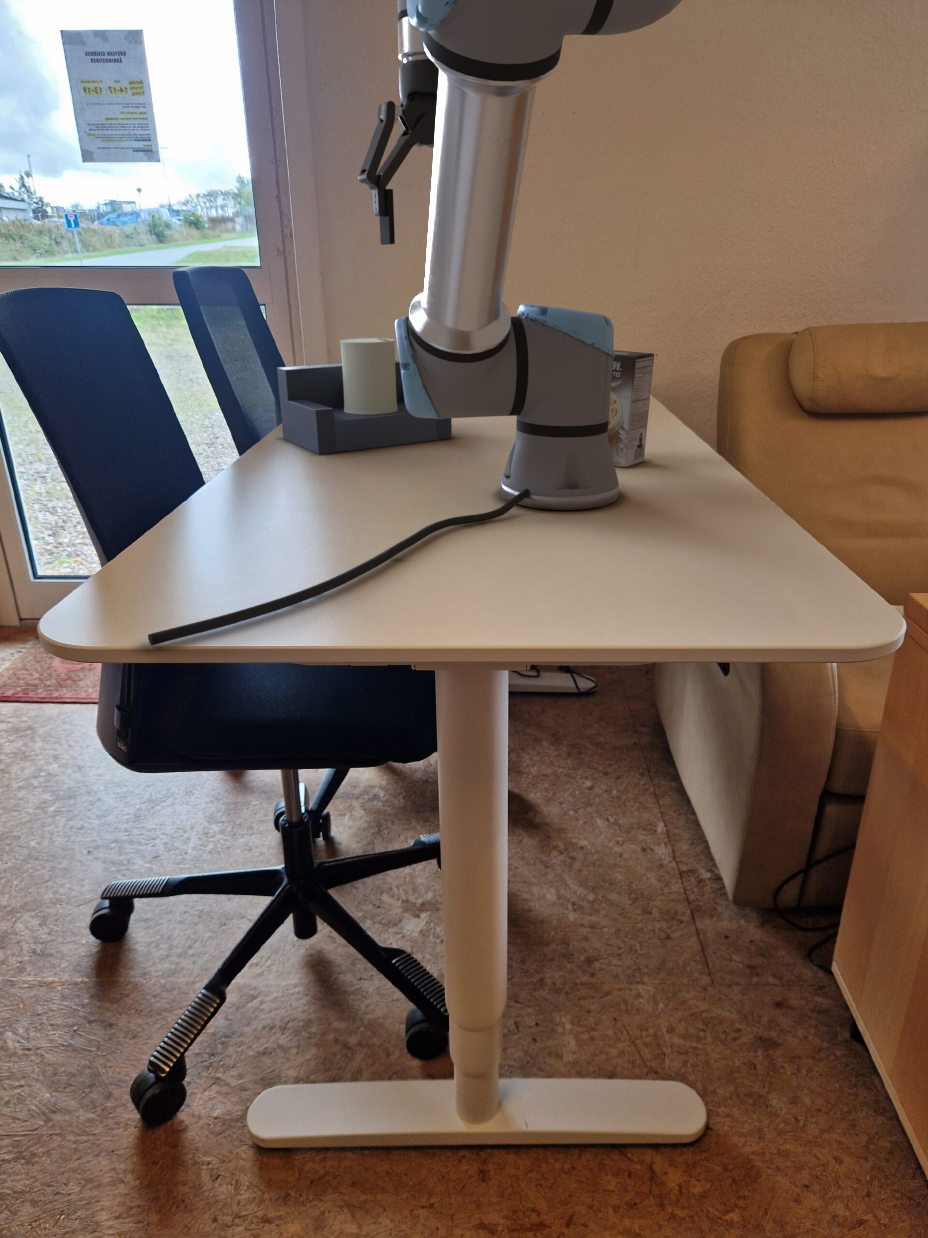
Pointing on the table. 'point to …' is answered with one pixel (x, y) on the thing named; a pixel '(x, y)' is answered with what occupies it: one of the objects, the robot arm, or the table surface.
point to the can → (369, 376)
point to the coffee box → (629, 406)
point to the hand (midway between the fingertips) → (431, 245)
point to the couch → (345, 414)
